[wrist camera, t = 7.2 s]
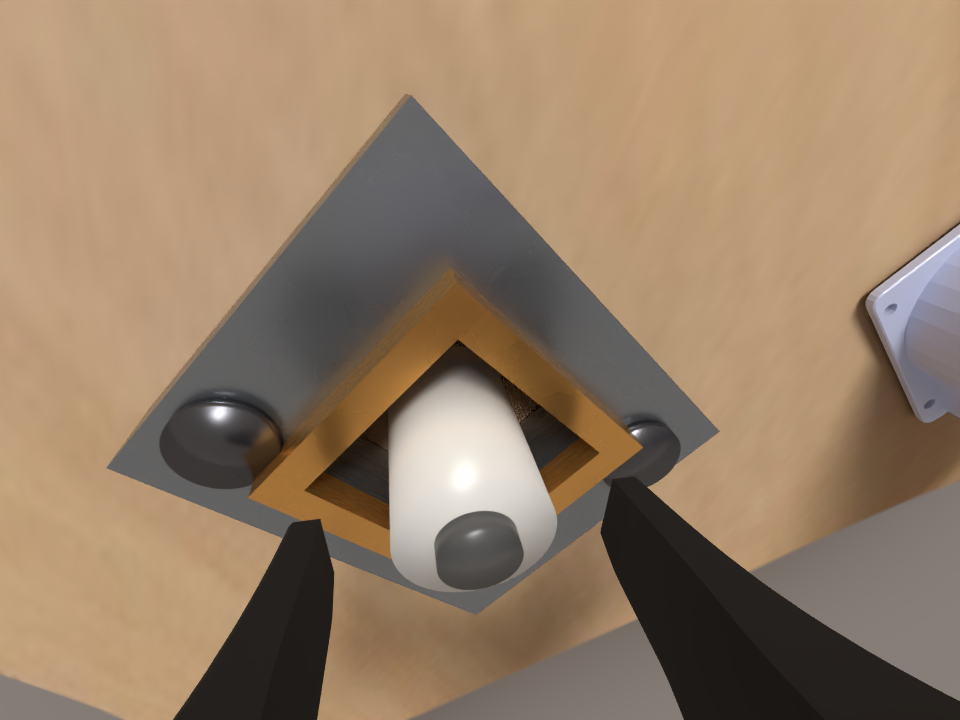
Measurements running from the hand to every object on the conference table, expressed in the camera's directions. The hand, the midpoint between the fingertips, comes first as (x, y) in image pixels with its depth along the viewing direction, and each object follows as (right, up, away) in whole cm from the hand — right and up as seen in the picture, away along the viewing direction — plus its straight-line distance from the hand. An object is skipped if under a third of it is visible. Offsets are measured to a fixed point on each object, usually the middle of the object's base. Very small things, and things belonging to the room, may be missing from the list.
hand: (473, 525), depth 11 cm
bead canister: (-1, +3, +5) cm, 6 cm away
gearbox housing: (-1, +3, +5) cm, 5 cm away
